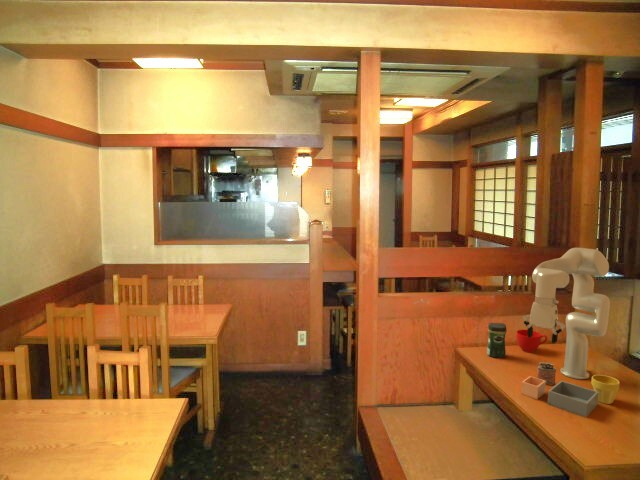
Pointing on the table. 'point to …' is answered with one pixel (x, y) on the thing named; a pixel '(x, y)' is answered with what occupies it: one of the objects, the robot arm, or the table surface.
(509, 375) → the table surface
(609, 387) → the plant pot
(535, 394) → the terracotta crate
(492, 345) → the coffee jar
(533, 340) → the ceramic cup
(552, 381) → the lighter
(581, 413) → the grey crate
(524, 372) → the table surface
